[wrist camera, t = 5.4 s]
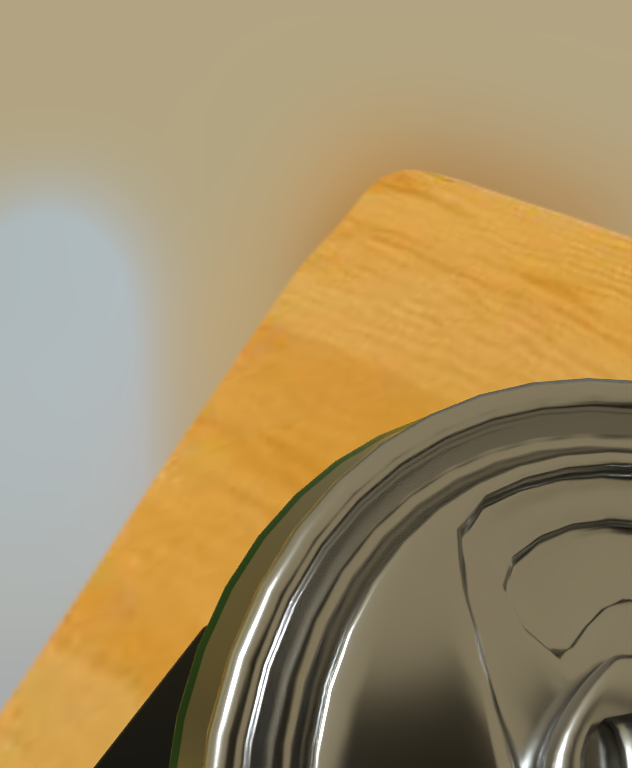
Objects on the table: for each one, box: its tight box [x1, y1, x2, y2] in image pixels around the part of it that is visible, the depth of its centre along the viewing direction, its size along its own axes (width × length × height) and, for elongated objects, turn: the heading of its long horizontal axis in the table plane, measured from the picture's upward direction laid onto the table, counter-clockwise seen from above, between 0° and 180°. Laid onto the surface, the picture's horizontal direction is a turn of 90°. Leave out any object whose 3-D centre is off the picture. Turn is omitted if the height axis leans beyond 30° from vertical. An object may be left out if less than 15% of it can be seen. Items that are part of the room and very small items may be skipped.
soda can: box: [169, 378, 632, 768], centre depth 8 cm, size 5×5×12 cm
